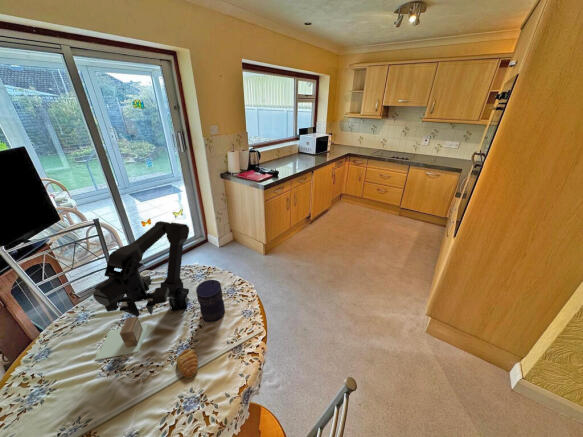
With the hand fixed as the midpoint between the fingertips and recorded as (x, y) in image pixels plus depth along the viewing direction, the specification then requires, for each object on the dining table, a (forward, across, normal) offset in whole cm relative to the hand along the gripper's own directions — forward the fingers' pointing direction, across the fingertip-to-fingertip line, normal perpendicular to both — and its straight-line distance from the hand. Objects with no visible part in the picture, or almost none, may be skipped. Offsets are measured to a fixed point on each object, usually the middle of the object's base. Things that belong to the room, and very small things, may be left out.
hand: (145, 314), depth 86 cm
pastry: (+12, -15, +15) cm, 25 cm away
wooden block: (+12, +6, 0) cm, 13 cm away
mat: (+12, +10, 0) cm, 16 cm away
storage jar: (+12, -22, -6) cm, 26 cm away
